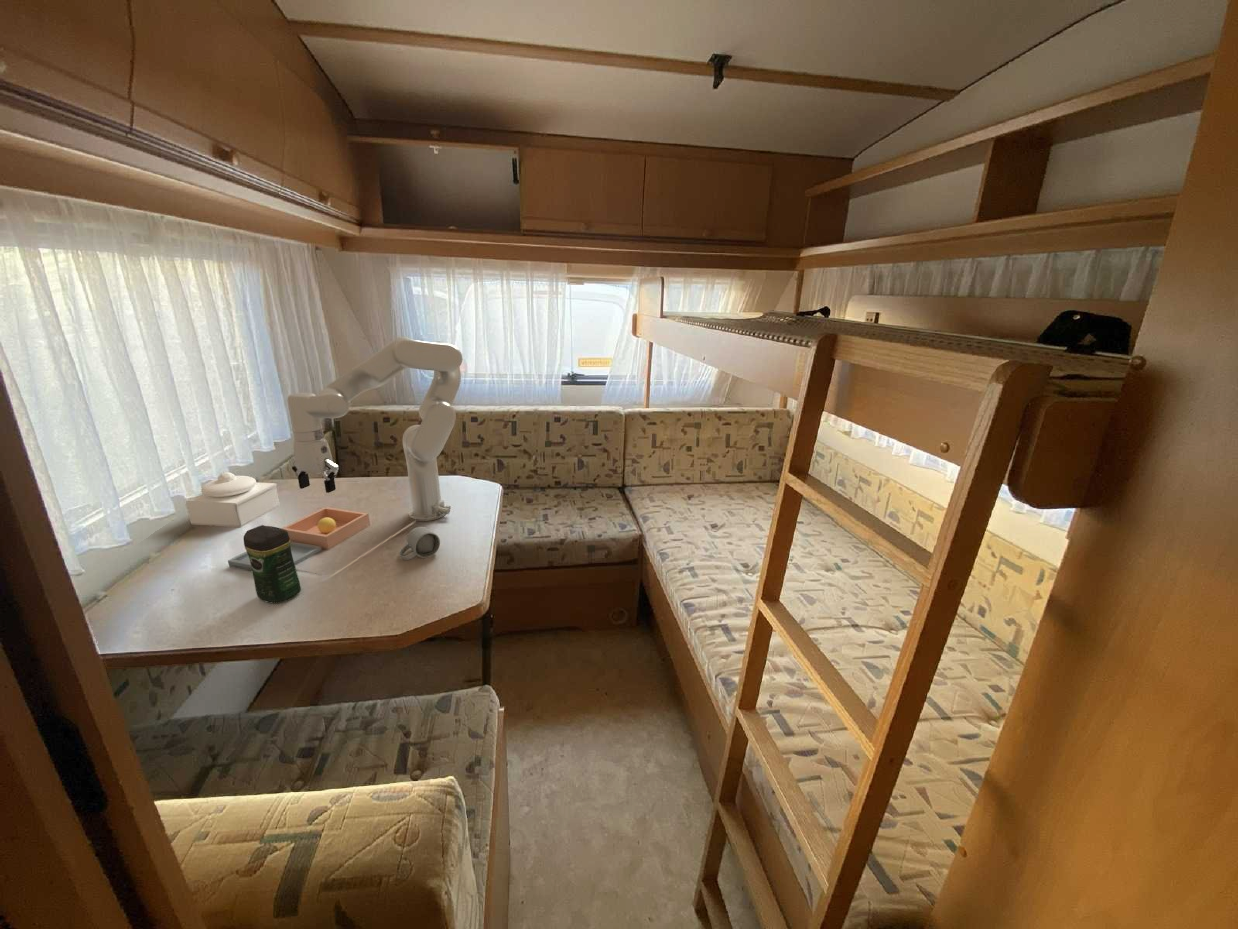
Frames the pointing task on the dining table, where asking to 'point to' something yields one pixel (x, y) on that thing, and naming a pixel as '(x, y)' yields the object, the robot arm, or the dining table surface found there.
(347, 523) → the terracotta dish
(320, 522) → the ochre ball
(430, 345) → the robot arm
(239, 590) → the dining table surface
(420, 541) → the ceramic mug
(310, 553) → the grey tray
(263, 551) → the coffee jar
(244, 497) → the white box with knob
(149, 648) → the dining table surface
